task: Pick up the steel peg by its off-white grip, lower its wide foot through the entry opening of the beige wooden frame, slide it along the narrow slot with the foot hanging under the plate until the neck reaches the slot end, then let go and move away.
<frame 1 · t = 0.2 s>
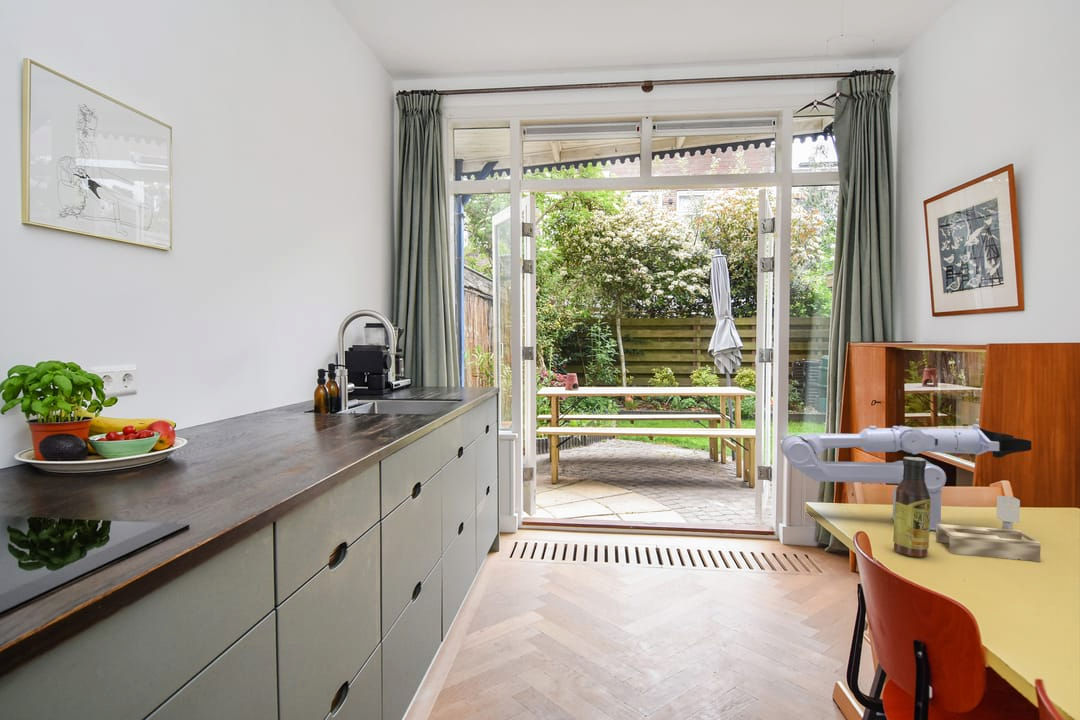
hand: (1021, 442, 131), 21 cm above the table, tool horizontal, fingers open, 7 cm apart
sauce bottle: (910, 553, 119), on the table
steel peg: (1006, 538, 128), on the table
beige wooden frame: (986, 550, 121), on the table
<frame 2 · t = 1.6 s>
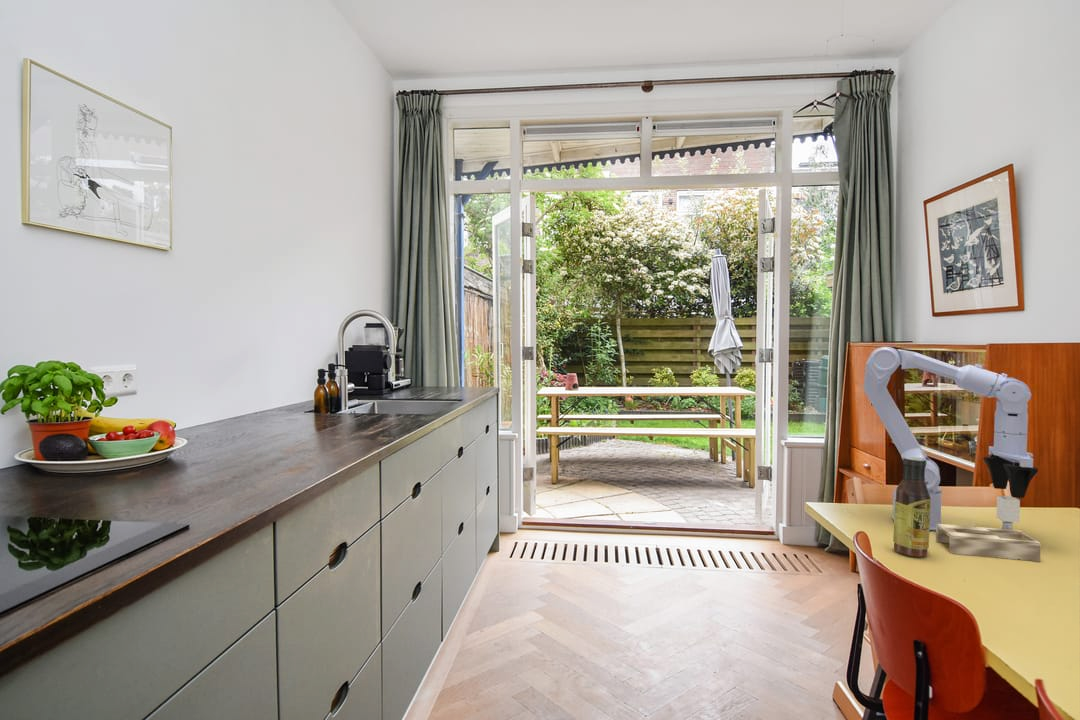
hand: (1008, 492, 128), 10 cm above the table, tool pointing down, fingers open, 7 cm apart
nothing on the table moved.
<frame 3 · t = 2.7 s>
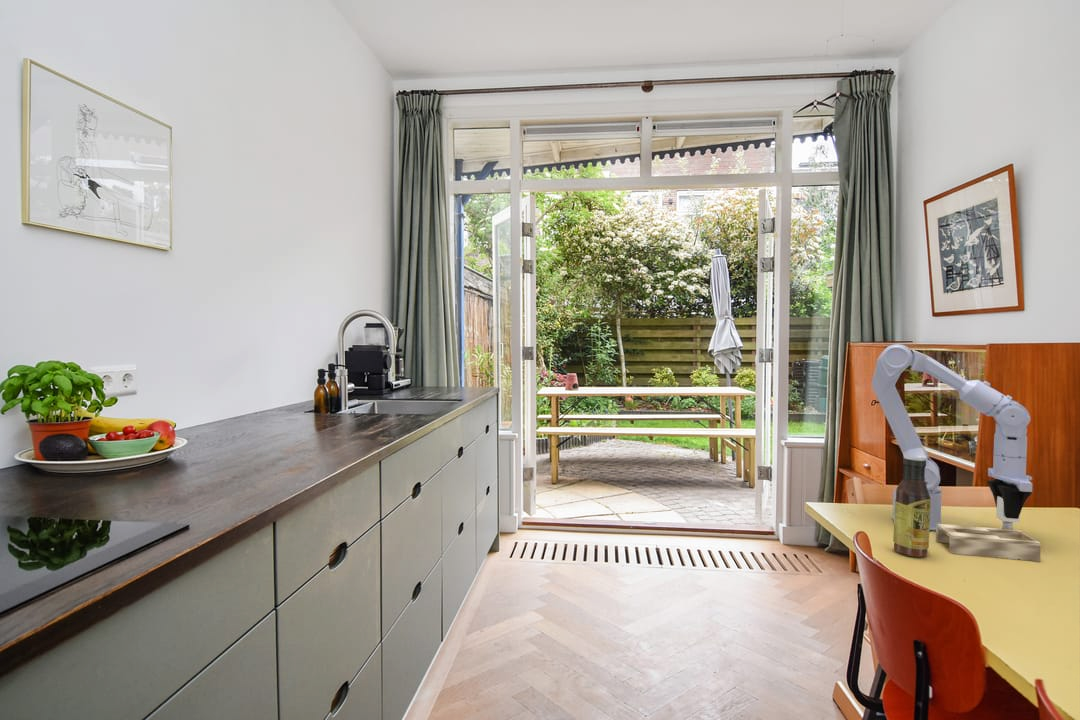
hand: (1007, 515, 128), 5 cm above the table, tool pointing down, fingers closed on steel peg, 3 cm apart
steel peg: (1006, 538, 128), on the table, touching gripper
everything else where it was.
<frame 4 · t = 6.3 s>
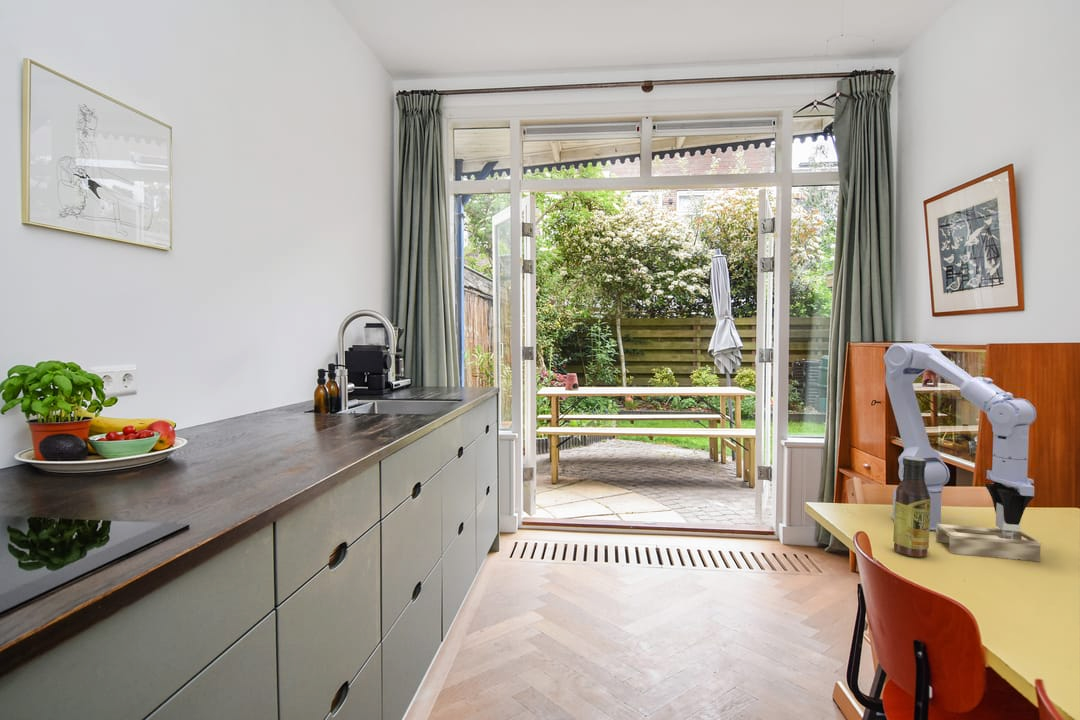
hand: (1007, 521, 120), 7 cm above the table, tool pointing down, fingers closed on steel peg, 3 cm apart
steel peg: (1007, 548, 120), point 1 cm above the table, touching gripper
everything else where it was.
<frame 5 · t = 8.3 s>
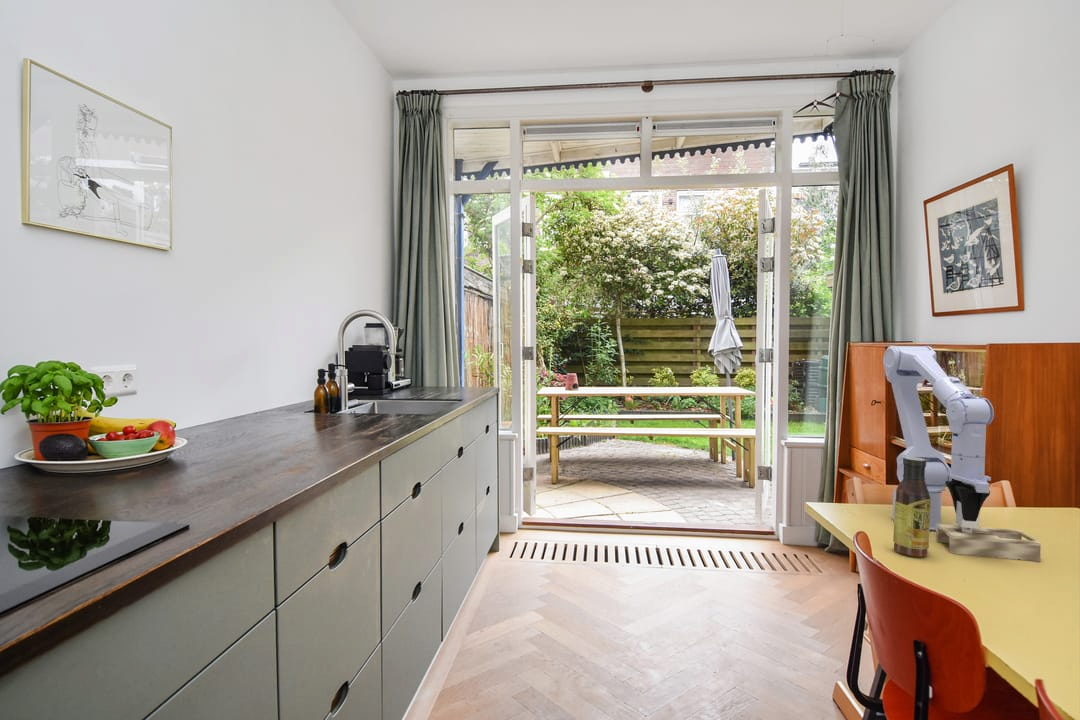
hand: (965, 518, 122), 7 cm above the table, tool pointing down, fingers closed on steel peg, 3 cm apart
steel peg: (966, 545, 122), point 1 cm above the table, touching gripper
everything else where it was.
when the fingers open (7 cm above the table, at t = 9.8 s): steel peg stays where it is, on the table.
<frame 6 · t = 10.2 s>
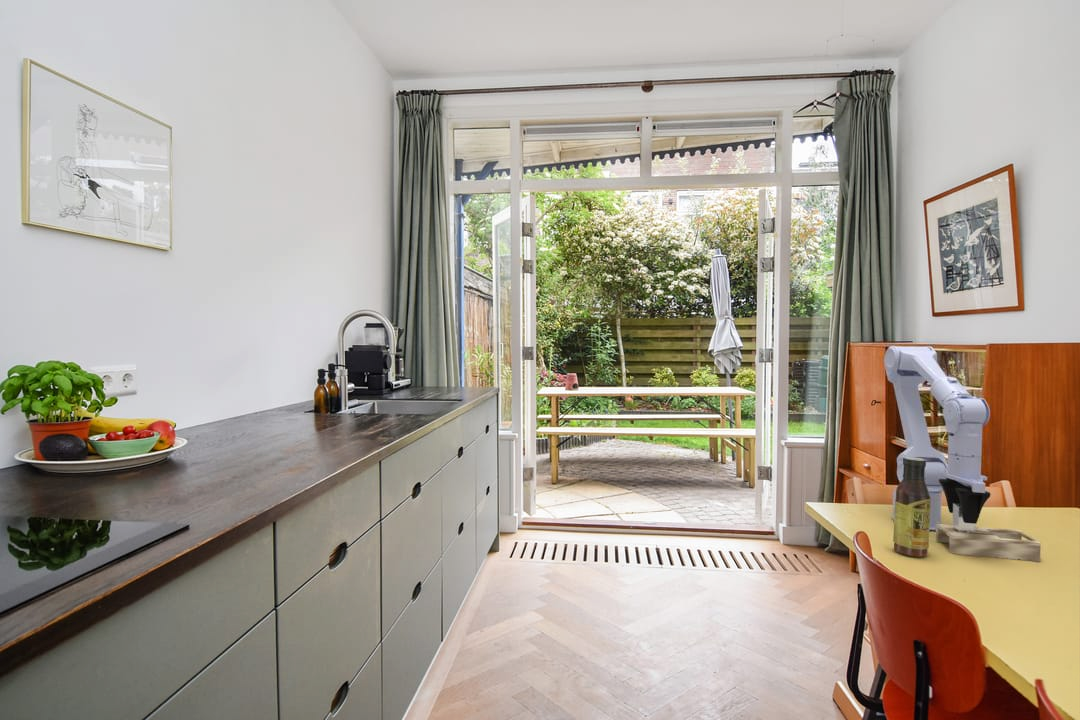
hand: (962, 517, 122), 7 cm above the table, tool pointing down, fingers open, 6 cm apart
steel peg: (962, 548, 122), on the table
everything else where it was.
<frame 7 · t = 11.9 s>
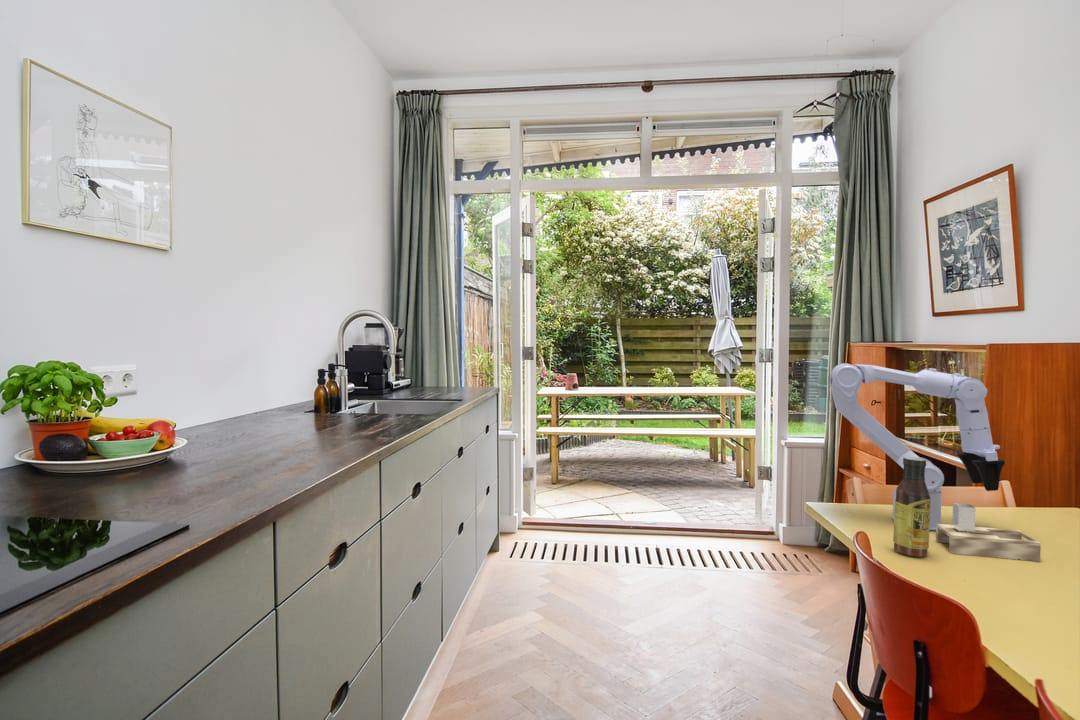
hand: (984, 486, 132), 11 cm above the table, tool pointing down, fingers open, 7 cm apart
nothing on the table moved.
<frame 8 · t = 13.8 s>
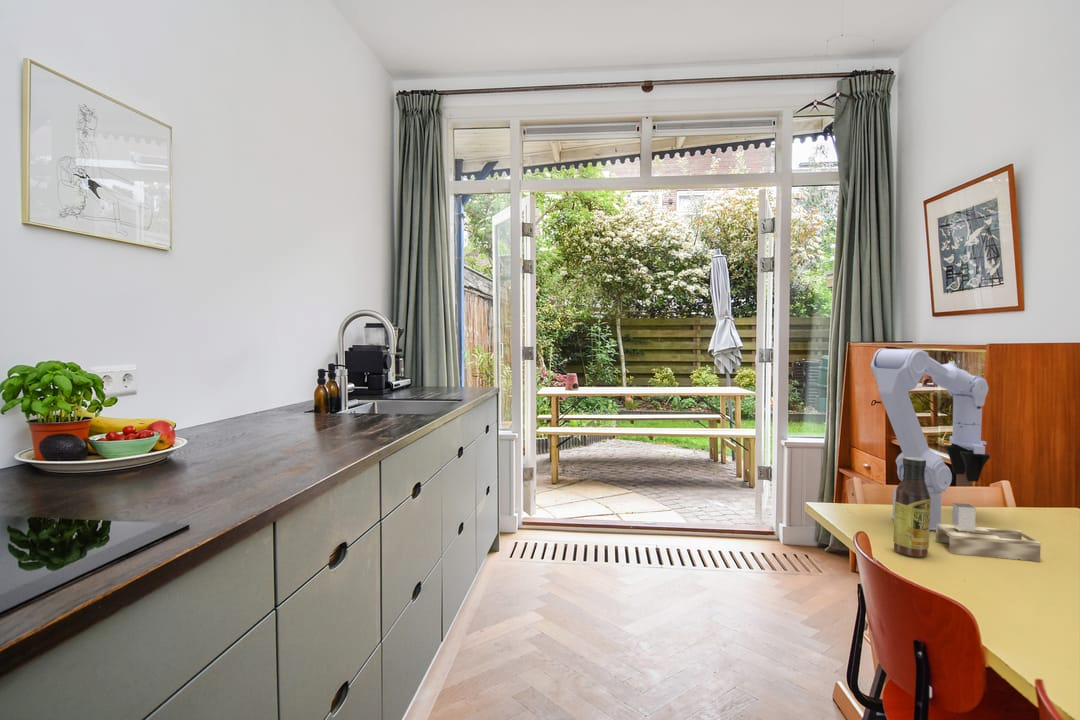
hand: (965, 477, 142), 10 cm above the table, tool pointing down, fingers open, 7 cm apart
nothing on the table moved.
at the end: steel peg 0.3 cm from the target spot on the beige wooden frame, point 0.0 cm above the beige wooden frame's base; the gripper is holding nothing; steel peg tilted 0° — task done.
